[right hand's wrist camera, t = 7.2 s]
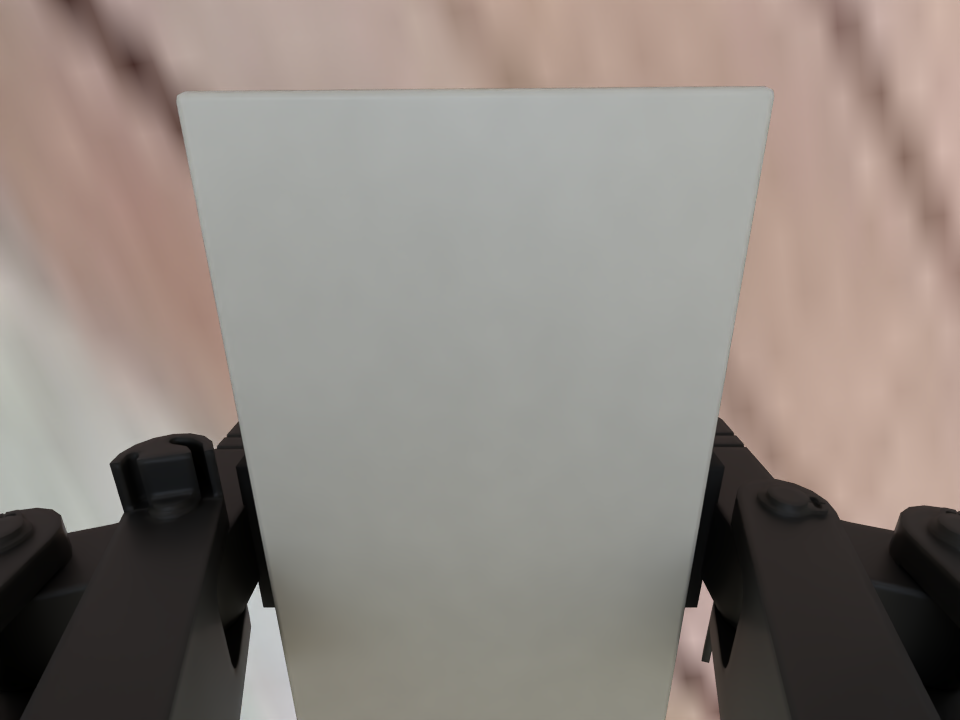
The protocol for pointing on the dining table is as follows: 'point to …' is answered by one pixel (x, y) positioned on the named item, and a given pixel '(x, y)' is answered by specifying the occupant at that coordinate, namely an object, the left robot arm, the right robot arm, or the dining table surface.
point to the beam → (478, 379)
